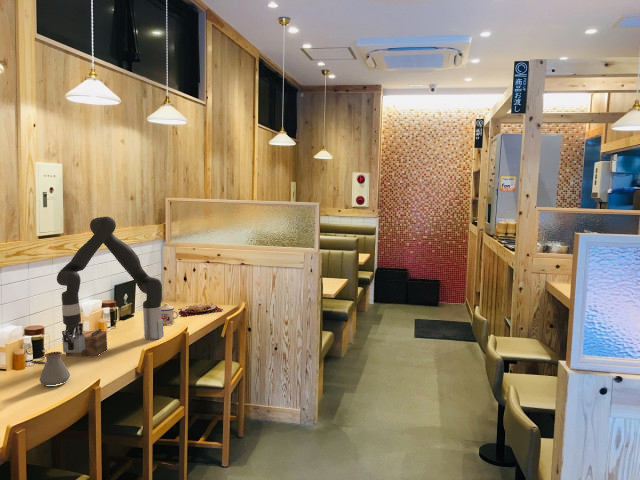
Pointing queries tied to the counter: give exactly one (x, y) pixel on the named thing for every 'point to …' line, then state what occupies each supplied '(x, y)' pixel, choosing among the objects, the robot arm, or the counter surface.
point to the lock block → (75, 344)
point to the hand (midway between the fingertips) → (74, 347)
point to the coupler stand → (93, 343)
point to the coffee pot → (53, 369)
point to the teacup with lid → (168, 314)
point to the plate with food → (199, 309)
